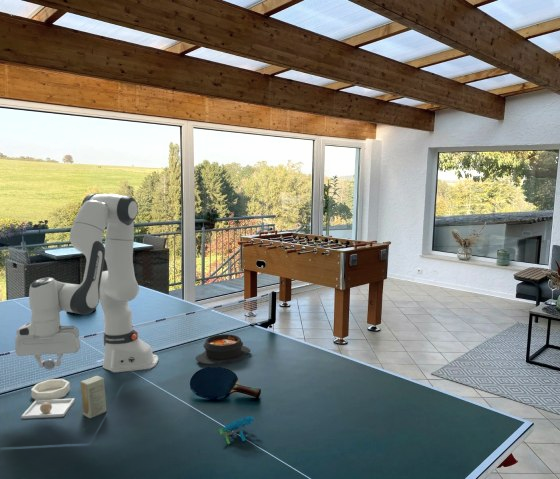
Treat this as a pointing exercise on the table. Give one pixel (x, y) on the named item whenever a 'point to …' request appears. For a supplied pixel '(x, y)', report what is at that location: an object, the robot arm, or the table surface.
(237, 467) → the table surface
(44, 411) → the pebble sand
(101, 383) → the skincare box
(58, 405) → the parts tray
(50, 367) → the pebble slate
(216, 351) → the casserole
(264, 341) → the table surface
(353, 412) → the table surface
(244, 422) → the blue plastic piece
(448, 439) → the table surface
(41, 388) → the bowl
